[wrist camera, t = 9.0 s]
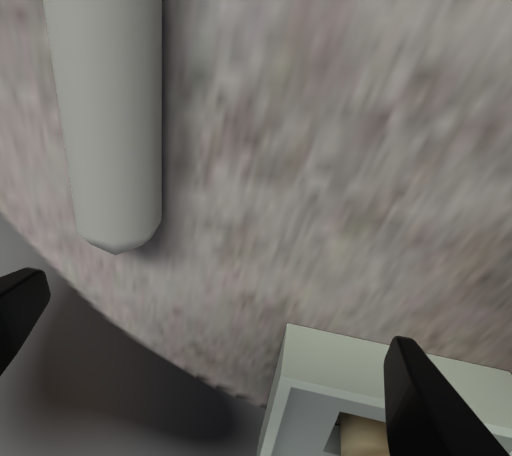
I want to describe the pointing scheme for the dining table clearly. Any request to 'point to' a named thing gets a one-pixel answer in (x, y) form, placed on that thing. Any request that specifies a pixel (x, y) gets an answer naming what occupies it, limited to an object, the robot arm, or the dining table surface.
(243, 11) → the dining table surface
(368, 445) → the peg
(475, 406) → the caddy
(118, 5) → the tube
